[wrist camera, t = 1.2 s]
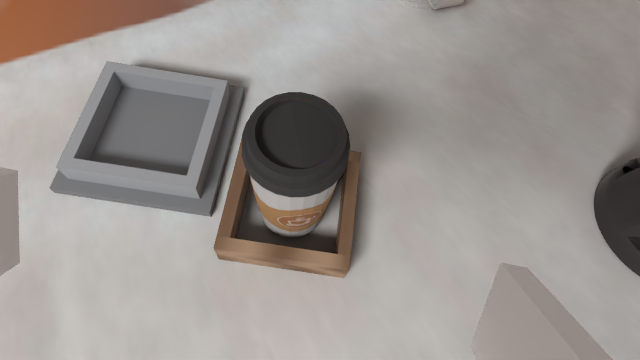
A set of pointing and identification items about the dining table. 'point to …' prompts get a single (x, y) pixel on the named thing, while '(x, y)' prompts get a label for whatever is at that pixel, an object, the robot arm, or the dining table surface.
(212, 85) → the dock pad
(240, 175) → the walnut holder
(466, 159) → the dining table surface
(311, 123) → the coffee cup
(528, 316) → the robot arm
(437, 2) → the network device
